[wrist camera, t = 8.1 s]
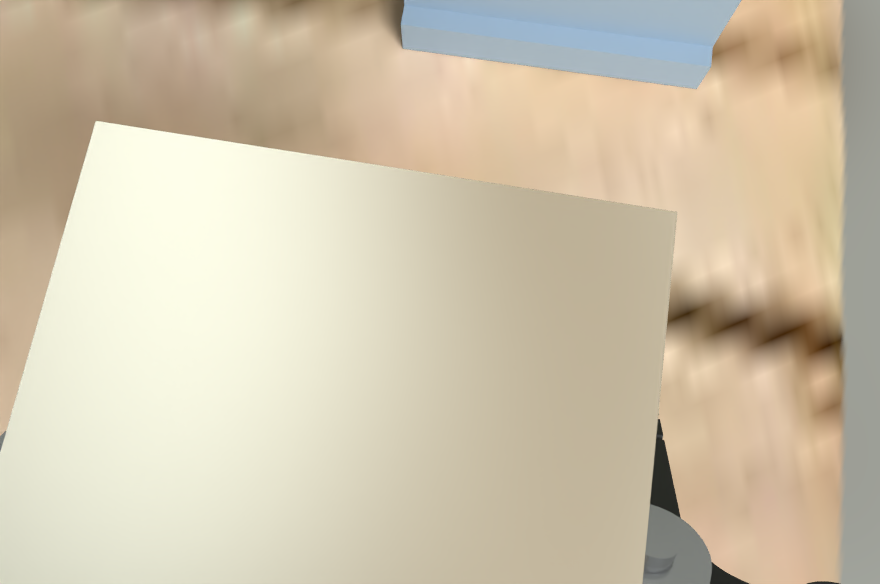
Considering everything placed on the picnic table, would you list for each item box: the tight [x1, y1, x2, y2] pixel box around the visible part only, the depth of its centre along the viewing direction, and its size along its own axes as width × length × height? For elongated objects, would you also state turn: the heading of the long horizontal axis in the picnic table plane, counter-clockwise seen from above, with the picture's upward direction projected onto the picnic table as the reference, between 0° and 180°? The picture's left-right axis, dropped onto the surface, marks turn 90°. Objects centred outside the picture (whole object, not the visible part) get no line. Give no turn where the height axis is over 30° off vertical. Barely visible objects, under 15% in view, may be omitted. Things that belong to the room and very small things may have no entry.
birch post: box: [0, 121, 677, 584], centre depth 11 cm, size 4×4×11 cm
